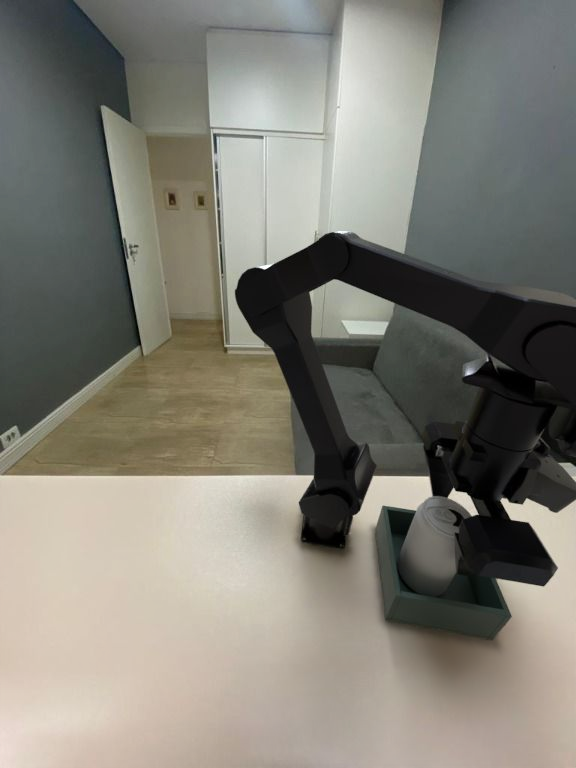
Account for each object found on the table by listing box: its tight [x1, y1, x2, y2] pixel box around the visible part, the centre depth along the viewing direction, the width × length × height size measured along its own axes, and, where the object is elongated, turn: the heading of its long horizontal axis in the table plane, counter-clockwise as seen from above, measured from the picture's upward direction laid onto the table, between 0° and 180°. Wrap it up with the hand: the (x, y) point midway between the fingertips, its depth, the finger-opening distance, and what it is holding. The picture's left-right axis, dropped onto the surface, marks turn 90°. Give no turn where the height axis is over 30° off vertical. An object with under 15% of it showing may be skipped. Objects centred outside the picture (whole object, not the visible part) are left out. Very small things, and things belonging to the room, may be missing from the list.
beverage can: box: [397, 496, 472, 597], centre depth 38 cm, size 6×6×12 cm
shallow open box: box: [374, 505, 513, 641], centre depth 40 cm, size 12×12×6 cm
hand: (448, 534), depth 37 cm, fingers open, 9 cm apart
